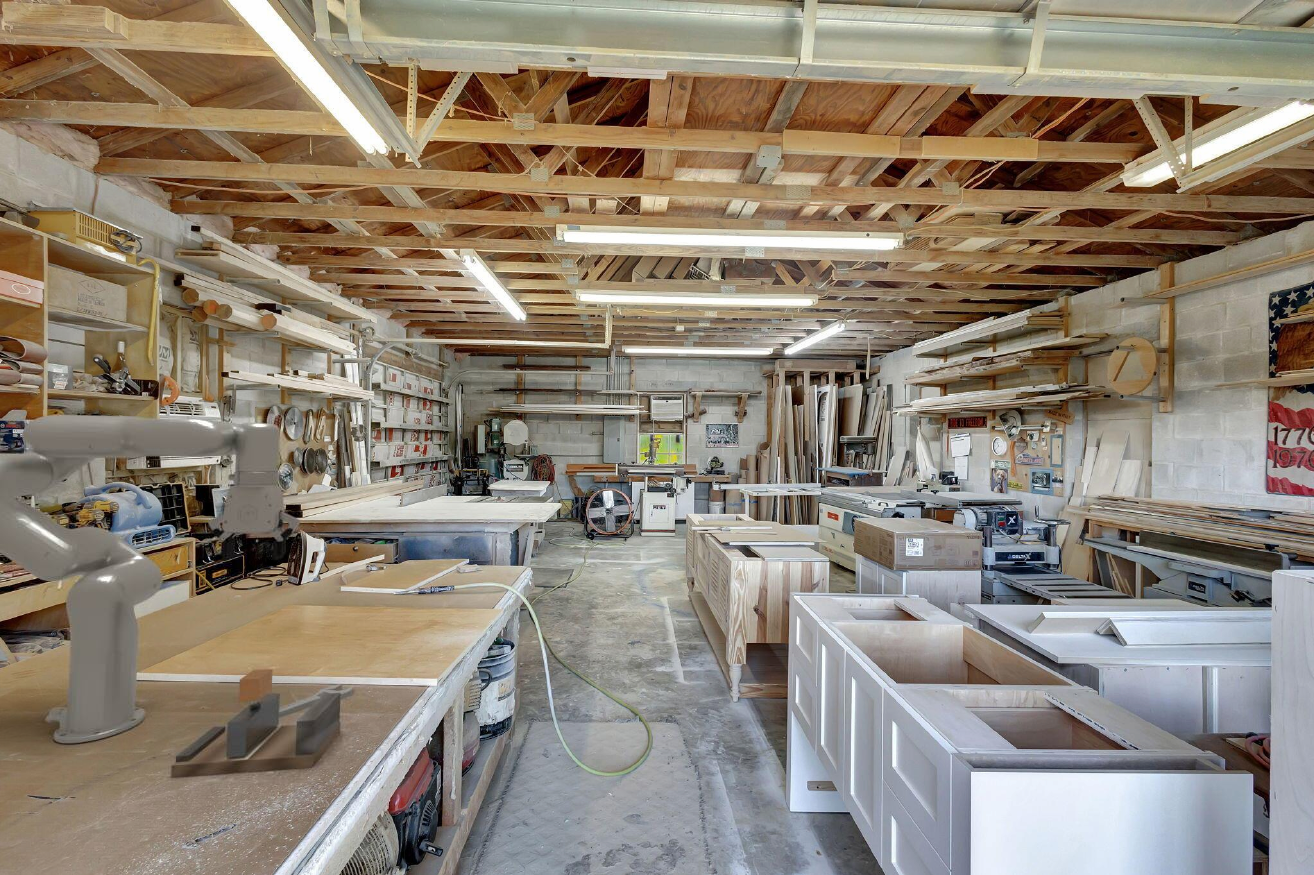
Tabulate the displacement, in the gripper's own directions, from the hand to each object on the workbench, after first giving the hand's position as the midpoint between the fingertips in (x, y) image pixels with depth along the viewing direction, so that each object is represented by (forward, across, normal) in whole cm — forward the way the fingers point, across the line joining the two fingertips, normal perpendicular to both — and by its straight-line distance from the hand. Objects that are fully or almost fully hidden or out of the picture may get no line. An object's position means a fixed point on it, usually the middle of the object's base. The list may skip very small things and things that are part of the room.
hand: (253, 559), depth 116 cm
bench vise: (+32, +12, -18) cm, 39 cm away
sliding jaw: (+30, +10, -18) cm, 36 cm away
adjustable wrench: (+33, +9, -1) cm, 34 cm away
